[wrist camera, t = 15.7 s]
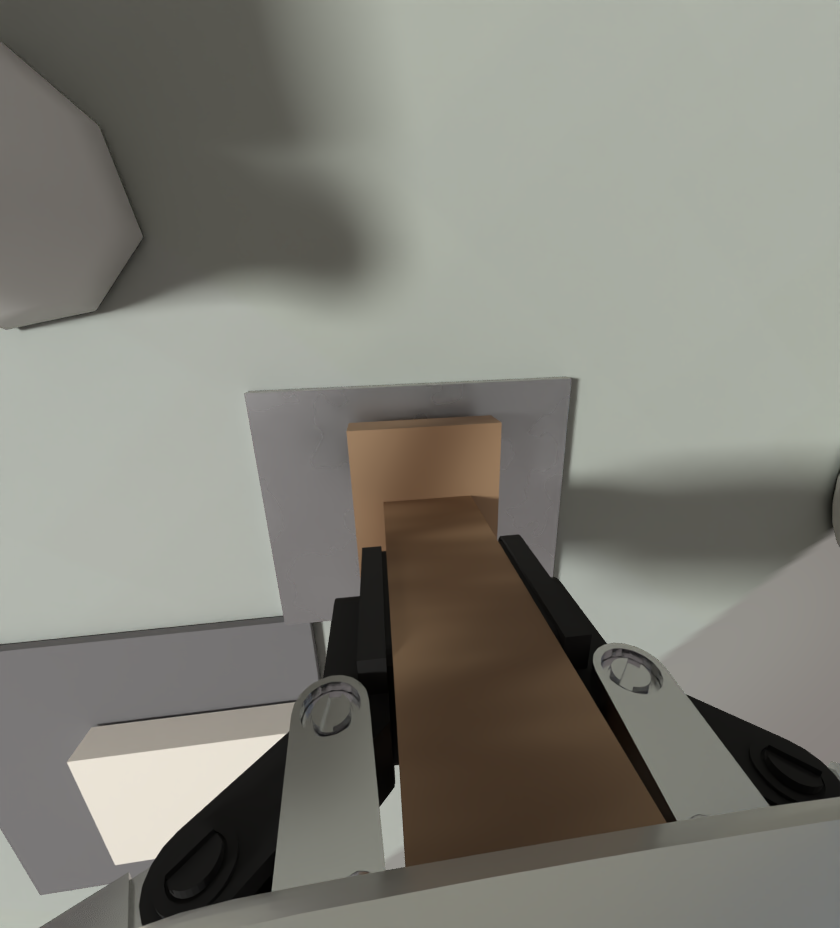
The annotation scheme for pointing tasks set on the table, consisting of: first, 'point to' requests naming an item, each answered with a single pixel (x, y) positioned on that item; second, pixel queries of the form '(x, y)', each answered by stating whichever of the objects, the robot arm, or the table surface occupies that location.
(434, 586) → the wooden post stand
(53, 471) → the table surface
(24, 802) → the mat
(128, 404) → the table surface
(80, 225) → the flask
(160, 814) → the tile
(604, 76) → the table surface
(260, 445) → the plate
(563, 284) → the table surface
